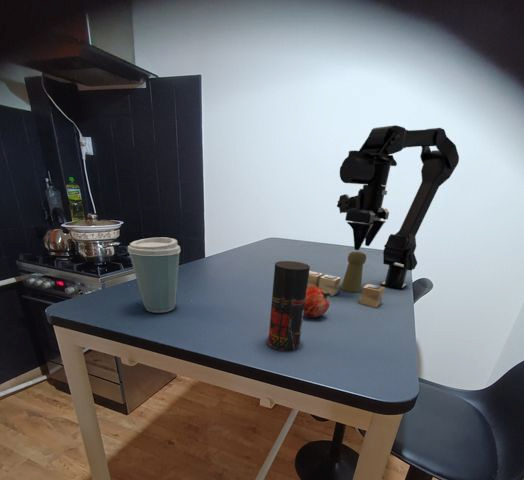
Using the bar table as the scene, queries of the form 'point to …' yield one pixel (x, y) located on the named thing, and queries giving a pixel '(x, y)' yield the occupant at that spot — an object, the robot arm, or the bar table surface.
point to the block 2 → (329, 284)
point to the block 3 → (372, 295)
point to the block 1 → (314, 279)
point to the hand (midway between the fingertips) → (362, 247)
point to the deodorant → (288, 304)
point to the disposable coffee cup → (156, 271)
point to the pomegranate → (316, 302)
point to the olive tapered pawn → (354, 272)
